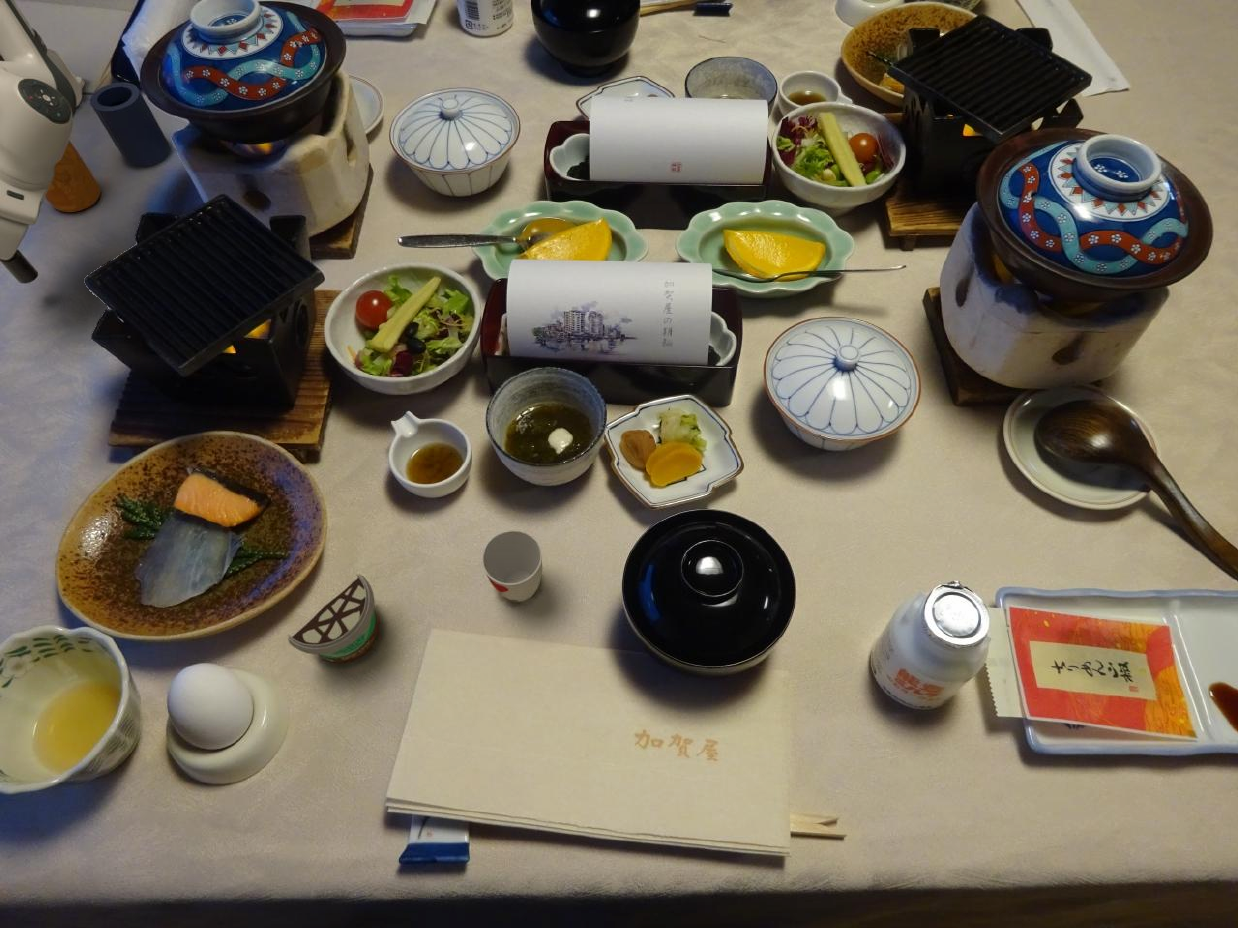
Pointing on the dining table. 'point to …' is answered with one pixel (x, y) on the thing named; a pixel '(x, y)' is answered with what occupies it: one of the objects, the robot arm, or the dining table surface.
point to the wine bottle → (72, 183)
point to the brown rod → (20, 268)
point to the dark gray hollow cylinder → (130, 124)
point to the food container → (342, 626)
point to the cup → (513, 564)
